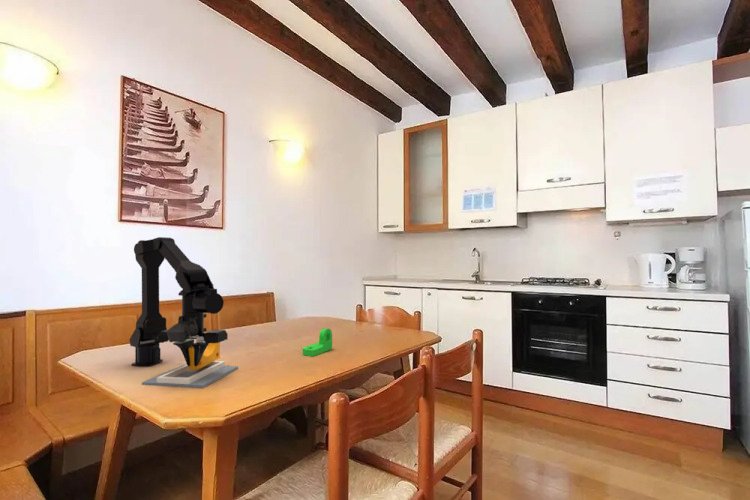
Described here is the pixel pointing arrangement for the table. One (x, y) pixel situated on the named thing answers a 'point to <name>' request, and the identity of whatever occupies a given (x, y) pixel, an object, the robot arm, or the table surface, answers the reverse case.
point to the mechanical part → (320, 344)
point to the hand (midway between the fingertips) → (192, 365)
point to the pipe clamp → (205, 356)
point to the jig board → (192, 376)
